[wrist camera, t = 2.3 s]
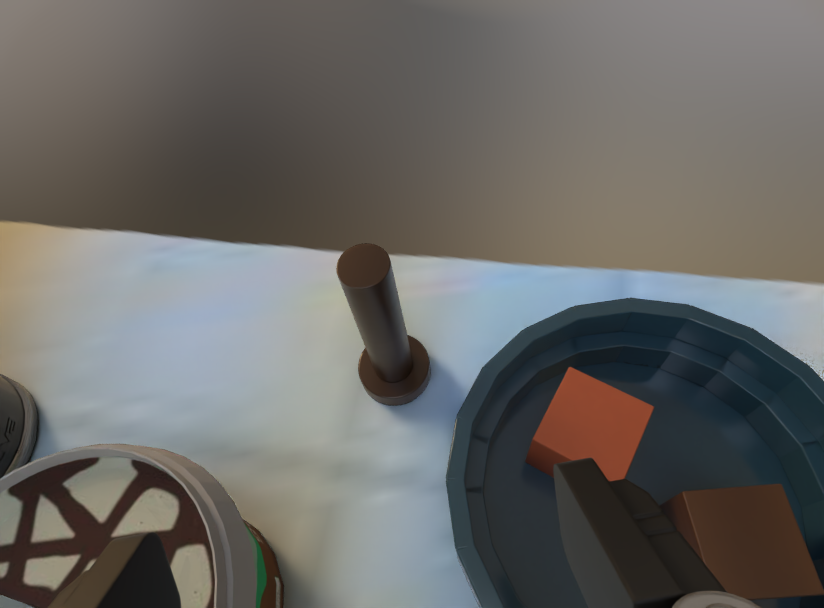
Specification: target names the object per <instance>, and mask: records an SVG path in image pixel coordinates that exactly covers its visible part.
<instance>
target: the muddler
mask: <svg viewBox="0 0 824 608" xmlns="http://www.w3.org/2000/svg"><path fill="white" fill-rule="evenodd" d="M336 270H337V275H338V278H339V280H340V283H341V285H342V288H343V290H344V293H345V296H346V298H347V301H348V303H349V306H350V308H351V311H352V314H353V316H354V319H355V321H356V324H357V327H358V329H359V332H360V334H361V337H362V339H363V342H364V345H365V347H366V348H365V349H364V351H363V352H362V354H361V357H360V359H359V365H358V371H359V376H360V379H361V382H362V384H363V386H364V388H365V390H366V391H367V393H368V394H369V395H370V396H371V397H372V398H373V399H375V400H376V401H378V402H380V403H383V404H386V405H402V404H406V403H409V402H411V401H413V400H414V399H416V398H417V397H418V396H420V395H421V394H422V392H423V391H424V390H425V388H426V387H427V385H428V382H429V379H430V374H431V369H430V362H429V357H428V354H427V351H426V349H425V348H424V346H423V345H422V344H421V343H420V342H419V341H418V340H417V339H415V338H413V337H411V336H409V335H407V332H406V328H405V323H404V319H403V315H402V310H401V306H400V301H399V297H398V292H397V288H396V284H395V279H394V275H393V270H392V266H391V261H390V258H389V255H388V254H387V252H386V251H385V250H384V249H382V248H381V247H379V246H377V245H374V244H367V243H365V244H358V245H355V246H353V247H351V248H349V249H347V250H346V251H345V252H344V253H343V254H342V255H341V256H340V258H339V260H338V263H337V268H336Z"/></svg>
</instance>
